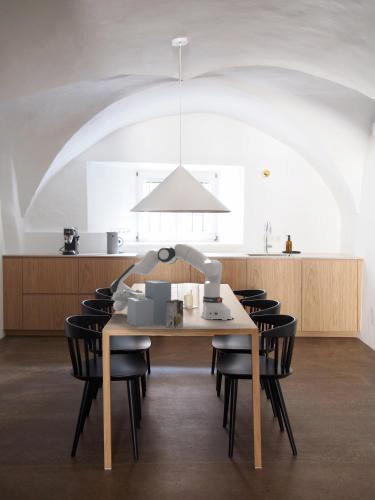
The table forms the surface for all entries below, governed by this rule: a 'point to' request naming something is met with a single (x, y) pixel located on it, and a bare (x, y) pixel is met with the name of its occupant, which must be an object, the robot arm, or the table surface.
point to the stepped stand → (150, 304)
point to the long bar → (137, 295)
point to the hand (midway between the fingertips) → (131, 290)
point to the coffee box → (174, 314)
